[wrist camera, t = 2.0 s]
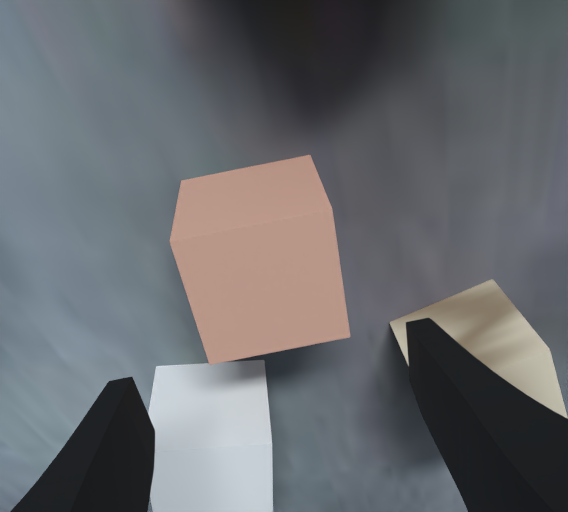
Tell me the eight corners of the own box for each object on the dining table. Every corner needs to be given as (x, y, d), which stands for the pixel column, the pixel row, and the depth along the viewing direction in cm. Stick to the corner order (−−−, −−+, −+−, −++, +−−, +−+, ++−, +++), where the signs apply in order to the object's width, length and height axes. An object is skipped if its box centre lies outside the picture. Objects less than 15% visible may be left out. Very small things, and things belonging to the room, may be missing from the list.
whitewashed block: (264, 358, 25) (271, 443, 21) (265, 433, 28) (273, 522, 23) (156, 365, 25) (141, 452, 21) (167, 440, 27) (157, 532, 23)
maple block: (491, 277, 24) (549, 349, 20) (514, 353, 27) (571, 431, 22) (388, 321, 25) (423, 399, 21) (420, 390, 27) (457, 474, 23)
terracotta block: (309, 154, 20) (332, 209, 16) (326, 264, 23) (350, 337, 19) (181, 179, 20) (169, 241, 16) (212, 286, 23) (209, 364, 19)
